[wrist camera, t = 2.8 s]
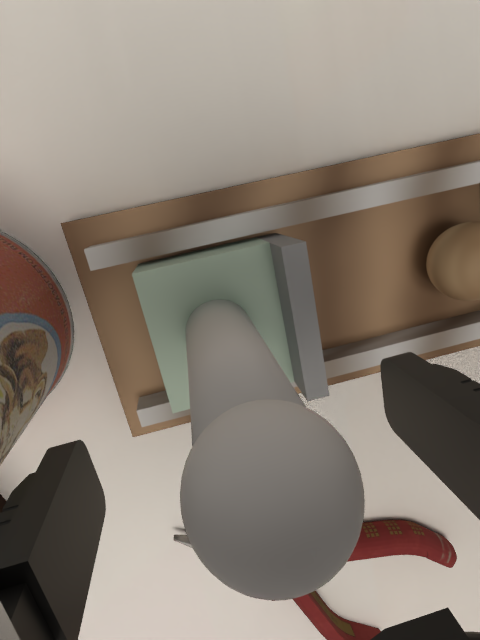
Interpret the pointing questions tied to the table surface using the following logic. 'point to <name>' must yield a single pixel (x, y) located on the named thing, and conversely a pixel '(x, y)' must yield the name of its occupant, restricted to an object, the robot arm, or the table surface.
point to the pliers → (372, 543)
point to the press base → (324, 259)
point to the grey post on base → (253, 415)
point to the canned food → (29, 337)
